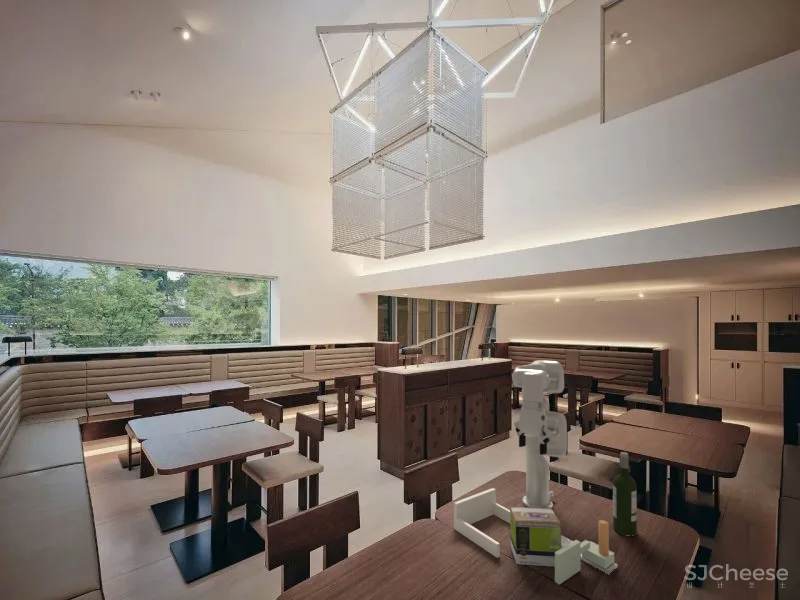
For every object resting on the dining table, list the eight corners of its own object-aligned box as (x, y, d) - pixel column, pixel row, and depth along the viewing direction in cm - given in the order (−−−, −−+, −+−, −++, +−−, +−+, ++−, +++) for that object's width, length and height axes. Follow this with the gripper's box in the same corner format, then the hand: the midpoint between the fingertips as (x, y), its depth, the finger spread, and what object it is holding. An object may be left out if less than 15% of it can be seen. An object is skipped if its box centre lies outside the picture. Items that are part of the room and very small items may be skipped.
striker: (590, 552, 134) (590, 512, 134) (614, 564, 127) (614, 522, 128) (550, 579, 120) (550, 534, 121) (574, 594, 114) (574, 546, 114)
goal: (492, 512, 162) (492, 488, 162) (536, 536, 144) (536, 509, 144) (453, 528, 149) (454, 502, 149) (497, 557, 131) (497, 528, 131)
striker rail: (517, 515, 159) (517, 512, 159) (617, 568, 127) (617, 564, 127) (508, 519, 156) (508, 516, 156) (608, 575, 123) (608, 571, 123)
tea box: (552, 550, 136) (552, 507, 137) (562, 568, 126) (561, 523, 127) (509, 546, 138) (509, 505, 138) (515, 565, 128) (515, 520, 128)
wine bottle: (640, 538, 144) (639, 457, 145) (617, 535, 145) (616, 456, 146) (632, 527, 151) (631, 450, 152) (610, 524, 153) (609, 448, 154)
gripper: (558, 408, 142) (558, 455, 141) (521, 399, 156) (521, 442, 155) (545, 410, 138) (545, 459, 137) (508, 401, 152) (508, 445, 151)
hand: (532, 450), depth 146 cm, fingers open, 9 cm apart
